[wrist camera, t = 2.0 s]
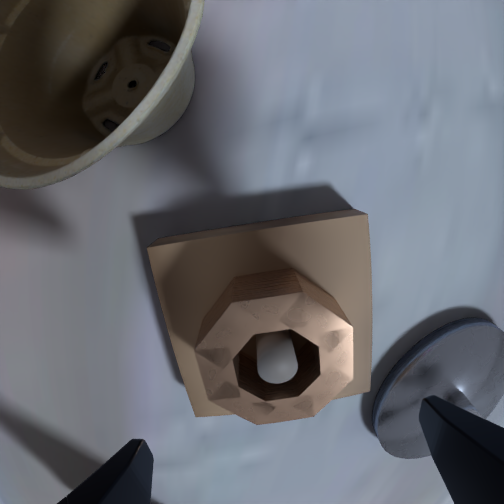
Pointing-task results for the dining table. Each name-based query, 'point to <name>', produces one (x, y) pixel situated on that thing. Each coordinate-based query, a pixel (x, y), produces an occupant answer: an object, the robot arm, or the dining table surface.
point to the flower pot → (88, 81)
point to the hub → (440, 382)
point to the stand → (261, 260)
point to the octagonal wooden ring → (269, 320)
